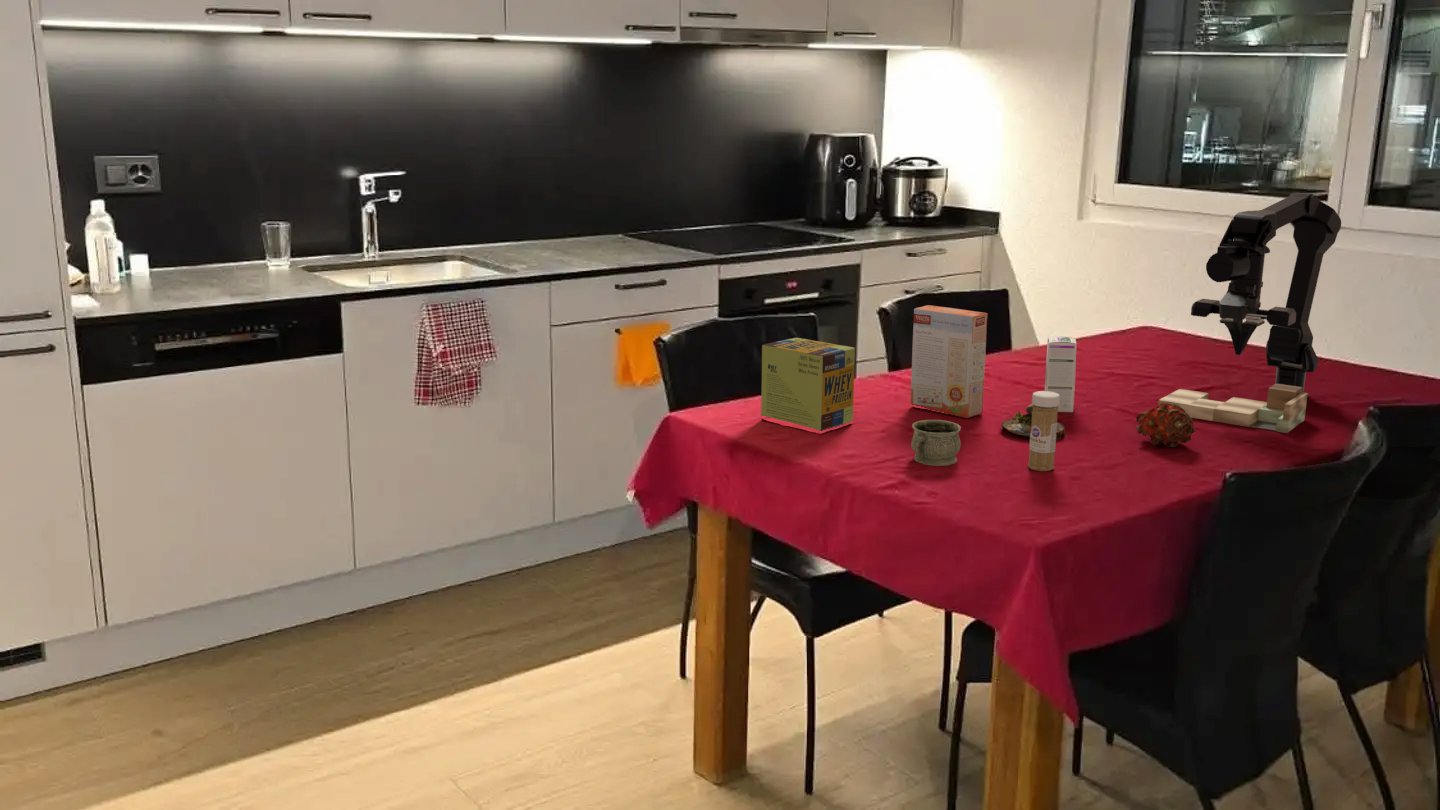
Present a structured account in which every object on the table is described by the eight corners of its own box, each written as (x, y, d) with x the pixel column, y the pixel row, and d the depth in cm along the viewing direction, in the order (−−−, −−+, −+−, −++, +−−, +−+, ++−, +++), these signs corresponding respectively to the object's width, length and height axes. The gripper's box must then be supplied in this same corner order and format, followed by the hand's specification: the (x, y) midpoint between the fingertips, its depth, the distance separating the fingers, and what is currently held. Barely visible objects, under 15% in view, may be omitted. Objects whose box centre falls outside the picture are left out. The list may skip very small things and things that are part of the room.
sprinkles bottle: (1023, 468, 223) (1027, 393, 220) (1035, 462, 227) (1040, 388, 223) (1047, 473, 220) (1052, 398, 217) (1059, 467, 224) (1064, 393, 220)
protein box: (821, 435, 244) (823, 355, 240) (760, 420, 254) (760, 344, 250) (854, 424, 251) (856, 347, 247) (793, 410, 261) (794, 336, 257)
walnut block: (1273, 402, 257) (1276, 383, 256) (1300, 406, 254) (1302, 387, 253) (1266, 407, 253) (1268, 388, 252) (1292, 411, 250) (1295, 392, 249)
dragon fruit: (1189, 461, 232) (1136, 455, 243) (1213, 429, 235) (1159, 423, 245) (1170, 428, 229) (1117, 423, 239) (1194, 395, 232) (1141, 391, 242)
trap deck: (1178, 400, 269) (1181, 374, 268) (1304, 420, 254) (1307, 393, 253) (1157, 411, 260) (1160, 385, 259) (1286, 433, 245) (1290, 405, 244)
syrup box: (1073, 412, 259) (1078, 342, 256) (1043, 411, 261) (1048, 341, 257) (1071, 405, 265) (1076, 336, 261) (1042, 404, 266) (1047, 335, 262)
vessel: (935, 448, 236) (936, 415, 234) (975, 458, 230) (977, 424, 228) (894, 461, 227) (895, 427, 226) (935, 472, 221) (936, 437, 220)
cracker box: (983, 414, 258) (989, 312, 253) (967, 420, 254) (972, 316, 249) (925, 402, 268) (929, 303, 262) (908, 407, 263) (912, 307, 258)
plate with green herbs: (989, 429, 249) (991, 392, 247) (1040, 423, 253) (1042, 386, 251) (1025, 445, 238) (1027, 406, 236) (1078, 439, 242) (1080, 400, 240)
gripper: (1184, 277, 252) (1177, 355, 256) (1284, 287, 241) (1275, 368, 245) (1204, 270, 261) (1196, 346, 264) (1301, 280, 249) (1291, 358, 253)
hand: (1238, 354), depth 256 cm, fingers closed
